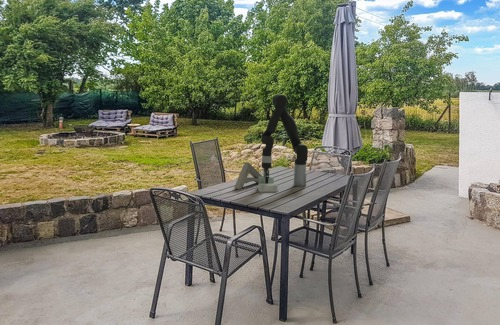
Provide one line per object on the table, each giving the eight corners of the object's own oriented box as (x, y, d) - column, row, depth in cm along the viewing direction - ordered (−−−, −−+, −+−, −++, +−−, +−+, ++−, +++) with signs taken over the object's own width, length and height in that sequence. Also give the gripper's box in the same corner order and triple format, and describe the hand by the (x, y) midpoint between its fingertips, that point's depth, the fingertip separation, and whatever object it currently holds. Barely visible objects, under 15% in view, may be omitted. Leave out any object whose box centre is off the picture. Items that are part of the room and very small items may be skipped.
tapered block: (273, 187, 295) (273, 176, 293) (273, 188, 292) (273, 177, 290) (259, 187, 294) (259, 176, 292) (259, 188, 290) (259, 177, 289)
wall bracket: (256, 204, 306) (238, 188, 284) (252, 203, 308) (234, 187, 286) (266, 180, 313) (249, 162, 291) (261, 179, 316) (244, 162, 293)
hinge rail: (276, 189, 289) (276, 182, 288) (278, 191, 281) (278, 185, 280) (258, 189, 287) (258, 182, 287) (259, 191, 280) (259, 185, 279)
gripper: (272, 163, 283) (272, 184, 286) (270, 160, 297) (269, 180, 300) (262, 163, 282) (262, 184, 285) (260, 160, 296) (260, 180, 299)
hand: (265, 182), depth 292 cm, fingers open, 8 cm apart
